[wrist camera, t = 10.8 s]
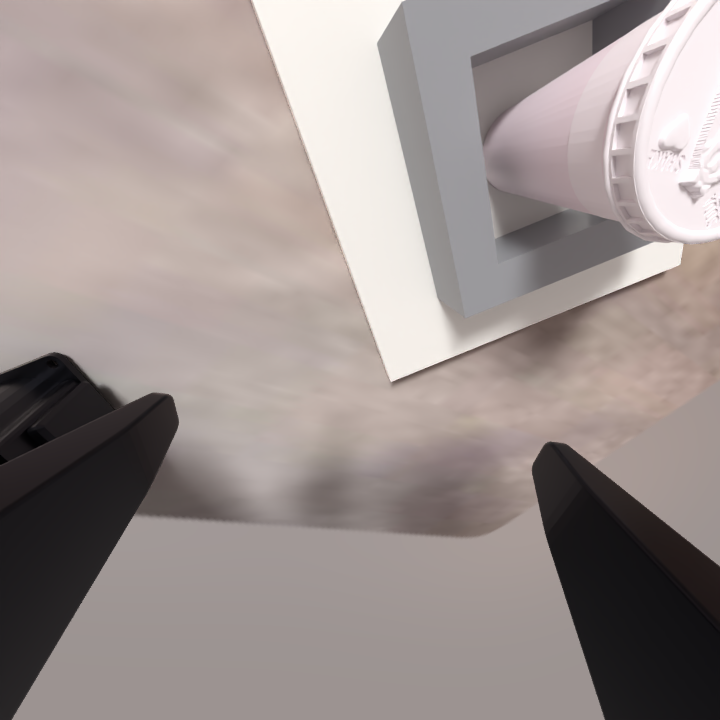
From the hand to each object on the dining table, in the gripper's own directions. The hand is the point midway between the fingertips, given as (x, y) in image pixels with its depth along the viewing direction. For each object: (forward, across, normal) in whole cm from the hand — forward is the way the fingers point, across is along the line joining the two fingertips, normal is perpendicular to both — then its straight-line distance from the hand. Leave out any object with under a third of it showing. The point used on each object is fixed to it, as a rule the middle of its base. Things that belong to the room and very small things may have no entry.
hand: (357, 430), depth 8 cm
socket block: (+15, -6, -6) cm, 18 cm away
